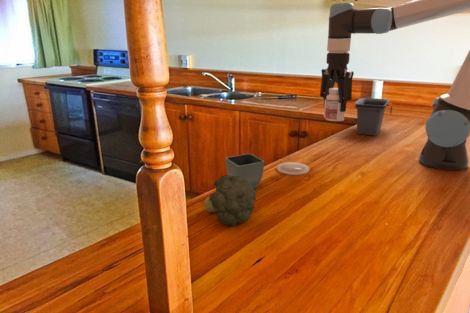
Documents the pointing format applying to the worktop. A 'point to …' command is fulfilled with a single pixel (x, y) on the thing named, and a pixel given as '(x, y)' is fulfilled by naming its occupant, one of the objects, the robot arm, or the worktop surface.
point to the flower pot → (246, 168)
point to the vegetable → (231, 200)
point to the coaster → (293, 168)
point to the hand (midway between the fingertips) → (333, 118)
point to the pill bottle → (332, 104)
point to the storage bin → (370, 115)
